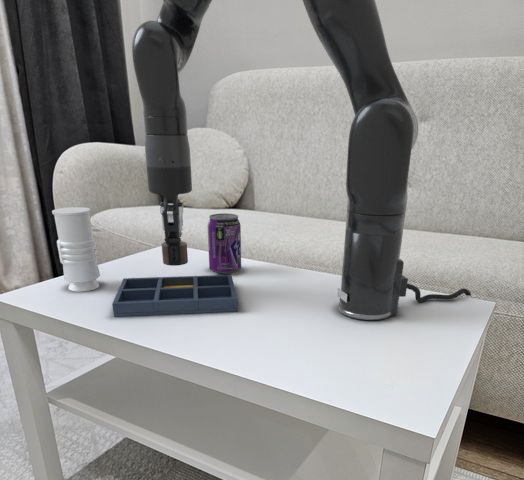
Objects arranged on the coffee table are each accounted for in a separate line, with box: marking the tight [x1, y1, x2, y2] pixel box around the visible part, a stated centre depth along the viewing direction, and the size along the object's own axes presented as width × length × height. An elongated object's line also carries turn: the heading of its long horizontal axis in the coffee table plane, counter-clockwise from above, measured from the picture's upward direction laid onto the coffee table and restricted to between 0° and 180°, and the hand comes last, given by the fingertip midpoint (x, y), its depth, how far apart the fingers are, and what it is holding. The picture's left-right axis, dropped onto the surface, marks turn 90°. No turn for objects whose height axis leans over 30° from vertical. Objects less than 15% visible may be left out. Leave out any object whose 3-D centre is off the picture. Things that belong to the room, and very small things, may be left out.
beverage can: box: [207, 212, 242, 275], centre depth 103 cm, size 7×7×12 cm
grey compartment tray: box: [111, 274, 239, 318], centre depth 88 cm, size 21×14×2 cm
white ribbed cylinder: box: [51, 206, 101, 293], centre depth 92 cm, size 7×7×15 cm
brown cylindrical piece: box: [161, 240, 189, 267], centre depth 88 cm, size 5×5×4 cm
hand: (175, 260), depth 89 cm, fingers closed on brown cylindrical piece, 4 cm apart
